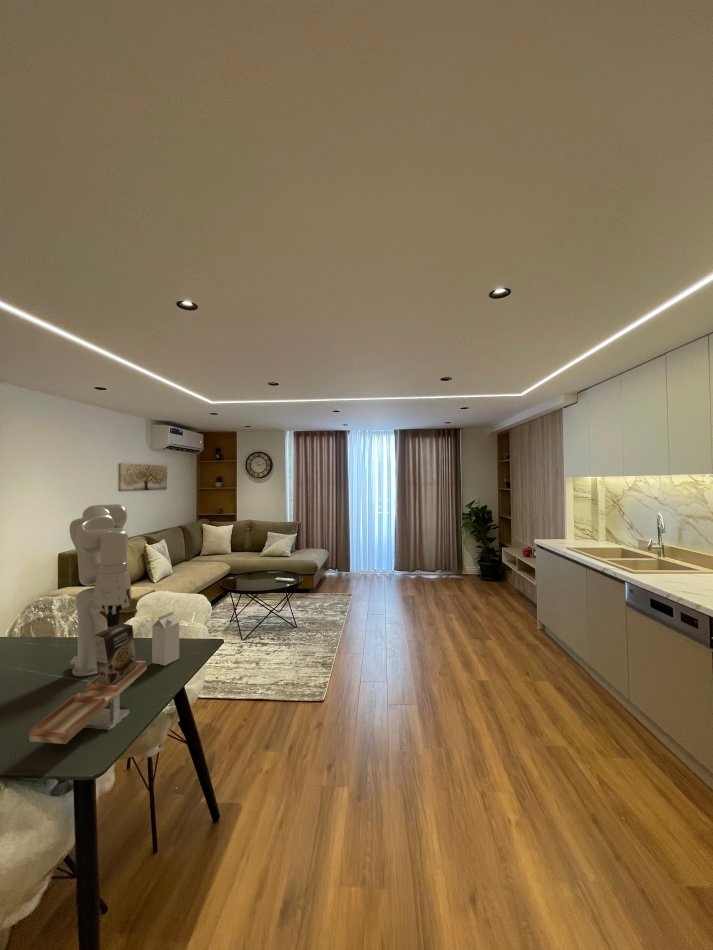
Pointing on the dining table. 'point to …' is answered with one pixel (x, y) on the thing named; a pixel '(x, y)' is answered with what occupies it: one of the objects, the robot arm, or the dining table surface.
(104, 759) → the dining table surface
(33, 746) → the dining table surface
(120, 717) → the seesaw stand
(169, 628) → the milk carton
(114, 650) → the coffee box
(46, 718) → the seesaw beam
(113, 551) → the robot arm
